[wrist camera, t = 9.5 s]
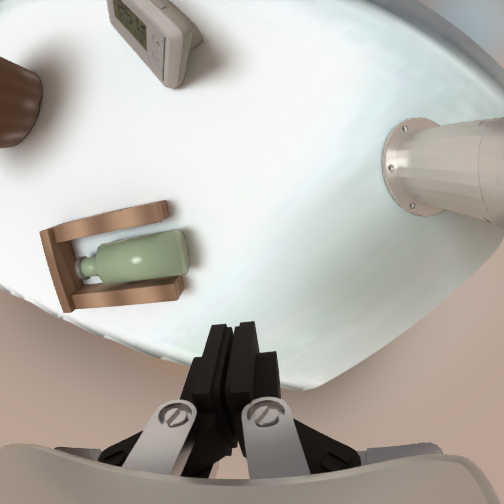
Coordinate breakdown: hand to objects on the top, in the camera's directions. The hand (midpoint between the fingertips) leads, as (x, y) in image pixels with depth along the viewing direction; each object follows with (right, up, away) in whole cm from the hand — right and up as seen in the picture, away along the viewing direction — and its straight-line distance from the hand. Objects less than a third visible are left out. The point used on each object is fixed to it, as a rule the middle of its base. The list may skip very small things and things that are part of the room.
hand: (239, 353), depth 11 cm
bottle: (-7, +4, +20) cm, 22 cm away
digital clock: (-11, +30, +16) cm, 36 cm away
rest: (-16, +4, +23) cm, 28 cm away
